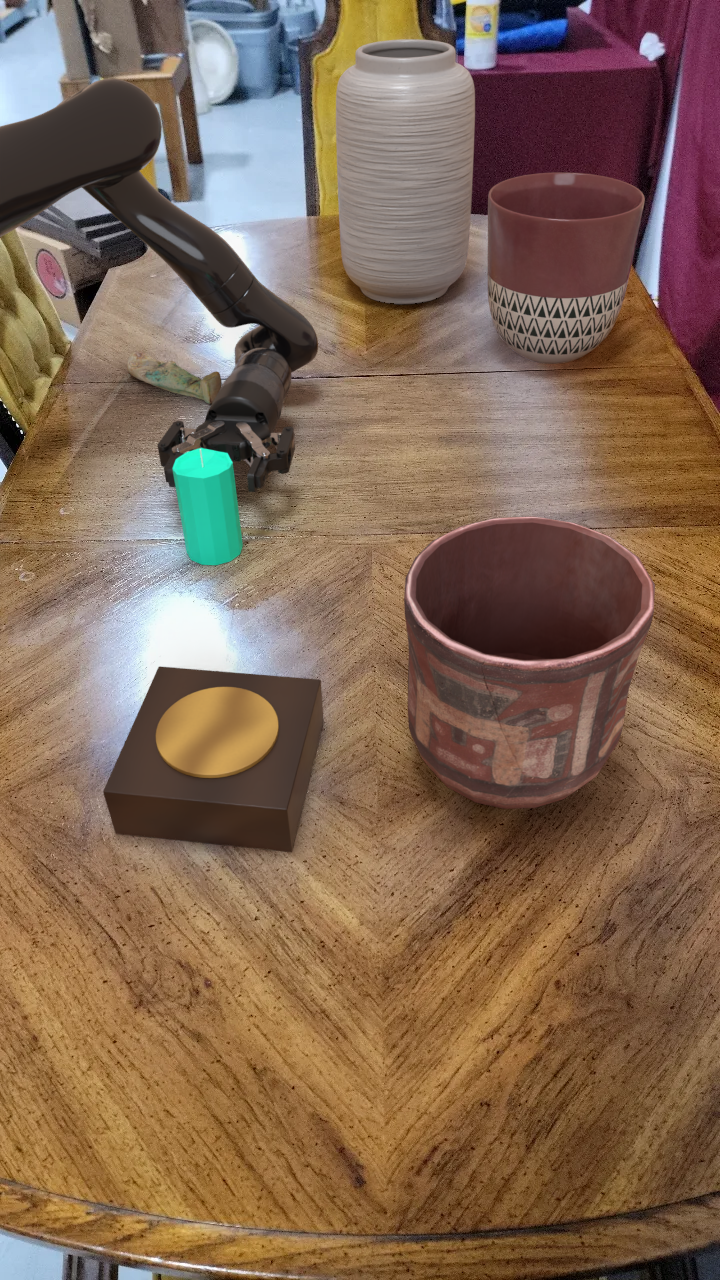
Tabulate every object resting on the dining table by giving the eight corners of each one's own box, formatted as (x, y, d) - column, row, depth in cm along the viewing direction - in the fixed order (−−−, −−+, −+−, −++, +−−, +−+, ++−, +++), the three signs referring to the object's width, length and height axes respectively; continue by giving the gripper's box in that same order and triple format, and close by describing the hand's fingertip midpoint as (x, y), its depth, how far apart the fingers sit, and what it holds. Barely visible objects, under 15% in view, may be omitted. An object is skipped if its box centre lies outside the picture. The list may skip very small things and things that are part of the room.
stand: (115, 834, 77) (101, 788, 73) (167, 707, 87) (157, 662, 84) (292, 852, 75) (286, 806, 71) (323, 721, 85) (320, 675, 82)
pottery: (621, 855, 74) (663, 679, 62) (388, 826, 77) (387, 651, 65) (616, 693, 87) (650, 522, 75) (418, 672, 90) (421, 504, 78)
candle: (227, 570, 102) (213, 469, 95) (176, 559, 104) (158, 459, 96) (252, 538, 107) (240, 439, 99) (202, 528, 108) (187, 430, 101)
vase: (316, 295, 158) (303, 55, 136) (386, 256, 170) (385, 30, 148) (424, 322, 149) (429, 69, 127) (490, 279, 161) (504, 42, 139)
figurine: (194, 413, 129) (190, 385, 126) (121, 380, 136) (116, 354, 134) (225, 398, 132) (222, 371, 129) (152, 367, 140) (147, 341, 137)
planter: (504, 394, 131) (517, 226, 117) (462, 334, 145) (469, 179, 131) (642, 377, 133) (671, 211, 119) (588, 320, 148) (608, 167, 134)
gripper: (183, 376, 113) (138, 446, 101) (305, 381, 111) (275, 454, 99) (191, 434, 118) (150, 509, 106) (309, 440, 116) (281, 517, 104)
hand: (211, 482), depth 102 cm, fingers open, 8 cm apart
